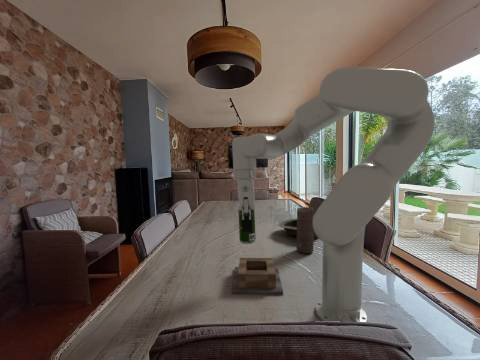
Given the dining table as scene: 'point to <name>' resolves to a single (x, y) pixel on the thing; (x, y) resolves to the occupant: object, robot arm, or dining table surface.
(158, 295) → the dining table surface
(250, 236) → the beer can
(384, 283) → the dining table surface
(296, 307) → the dining table surface
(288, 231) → the stone bowl
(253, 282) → the well block
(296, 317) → the dining table surface
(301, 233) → the brown cylinder
